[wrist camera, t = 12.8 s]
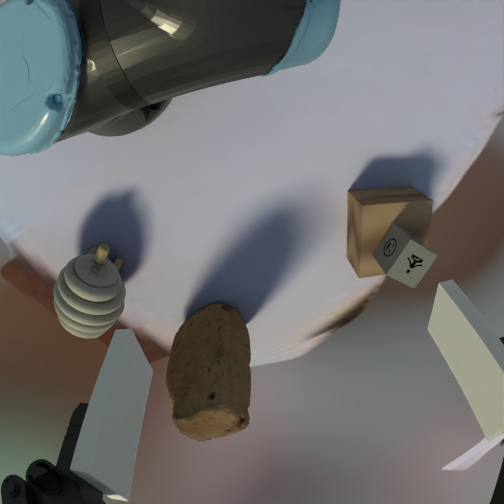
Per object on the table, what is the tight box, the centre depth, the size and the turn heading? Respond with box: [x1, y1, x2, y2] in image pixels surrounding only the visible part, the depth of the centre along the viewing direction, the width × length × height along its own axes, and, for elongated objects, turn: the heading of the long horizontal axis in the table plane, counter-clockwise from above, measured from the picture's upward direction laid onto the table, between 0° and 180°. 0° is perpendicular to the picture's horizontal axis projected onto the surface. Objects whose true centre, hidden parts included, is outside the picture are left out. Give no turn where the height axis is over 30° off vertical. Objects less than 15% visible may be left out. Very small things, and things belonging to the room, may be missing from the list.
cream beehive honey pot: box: [54, 243, 126, 338], centre depth 40 cm, size 11×17×11 cm, turn 156°
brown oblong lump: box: [166, 303, 251, 441], centre depth 42 cm, size 11×8×20 cm
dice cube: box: [372, 222, 437, 288], centre depth 36 cm, size 5×5×5 cm
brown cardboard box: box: [347, 187, 433, 278], centre depth 41 cm, size 10×10×6 cm
